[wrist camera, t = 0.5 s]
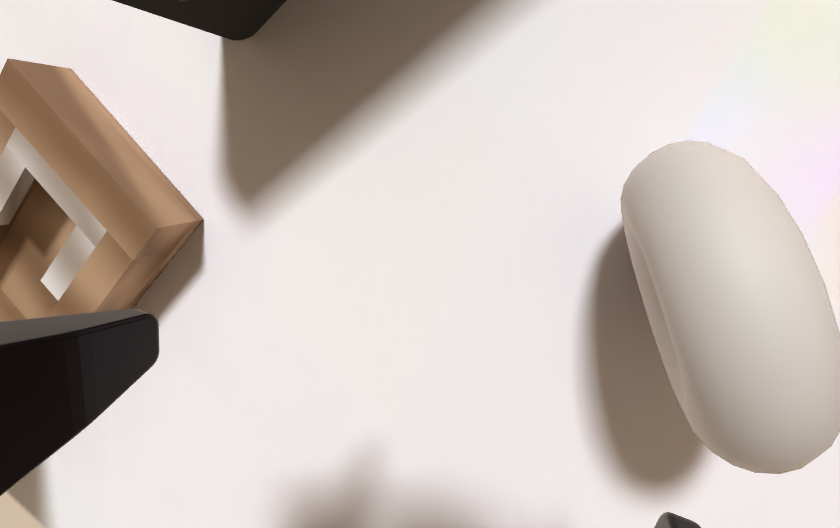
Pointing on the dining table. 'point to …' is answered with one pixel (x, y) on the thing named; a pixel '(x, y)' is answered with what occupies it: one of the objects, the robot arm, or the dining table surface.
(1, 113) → the keyhole board
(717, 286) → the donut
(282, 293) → the dining table surface
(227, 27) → the nameplate
